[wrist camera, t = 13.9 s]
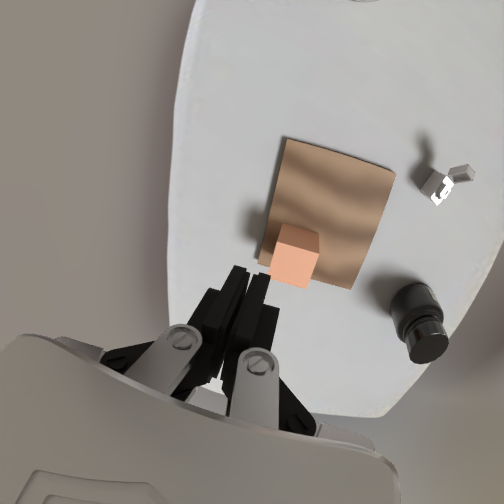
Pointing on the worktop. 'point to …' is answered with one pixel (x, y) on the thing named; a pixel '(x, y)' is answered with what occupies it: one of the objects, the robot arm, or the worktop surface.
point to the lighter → (446, 182)
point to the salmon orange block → (294, 256)
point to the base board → (328, 208)
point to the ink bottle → (419, 323)
